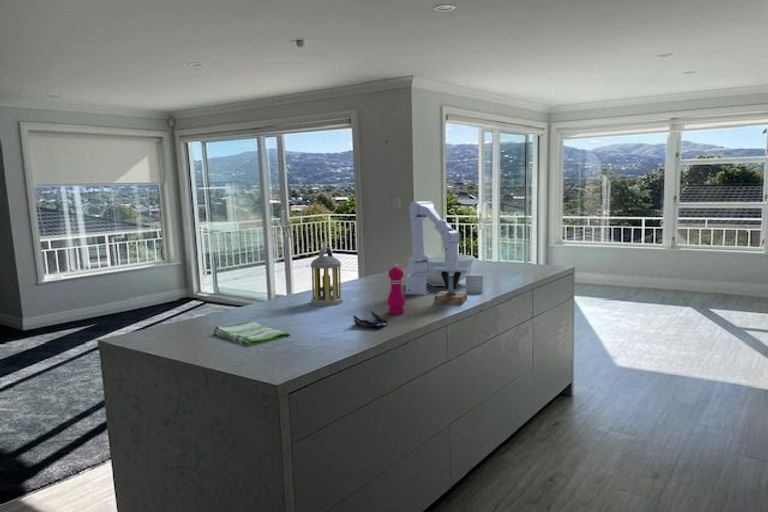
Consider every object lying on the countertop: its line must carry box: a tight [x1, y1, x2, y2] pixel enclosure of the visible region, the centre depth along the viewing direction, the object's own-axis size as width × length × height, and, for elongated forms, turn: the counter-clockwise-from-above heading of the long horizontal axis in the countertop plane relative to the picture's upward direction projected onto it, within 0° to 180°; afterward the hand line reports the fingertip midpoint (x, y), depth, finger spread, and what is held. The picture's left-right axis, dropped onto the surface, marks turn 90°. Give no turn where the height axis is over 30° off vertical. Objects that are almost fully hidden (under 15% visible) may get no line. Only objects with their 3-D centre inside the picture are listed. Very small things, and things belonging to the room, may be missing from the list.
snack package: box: [352, 310, 389, 328], centre depth 203 cm, size 12×6×12 cm
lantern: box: [310, 246, 344, 307], centre depth 245 cm, size 14×14×25 cm
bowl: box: [417, 253, 476, 287], centre depth 286 cm, size 32×32×15 cm
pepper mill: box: [386, 263, 406, 315], centre depth 223 cm, size 7×7×20 cm
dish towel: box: [212, 320, 291, 347], centre depth 193 cm, size 17×23×4 cm
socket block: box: [434, 290, 468, 306], centre depth 243 cm, size 12×12×4 cm
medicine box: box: [465, 273, 484, 294], centre depth 263 cm, size 8×4×9 cm, turn 84°
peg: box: [447, 275, 456, 295], centre depth 242 cm, size 3×3×9 cm
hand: (451, 288), depth 243 cm, fingers closed on peg, 3 cm apart
